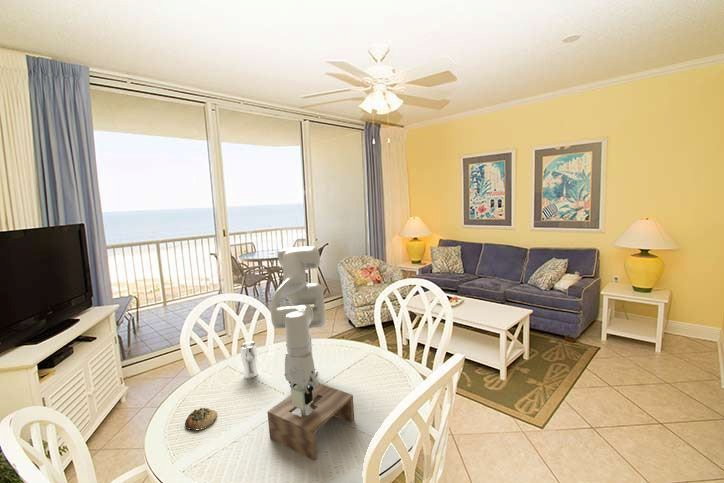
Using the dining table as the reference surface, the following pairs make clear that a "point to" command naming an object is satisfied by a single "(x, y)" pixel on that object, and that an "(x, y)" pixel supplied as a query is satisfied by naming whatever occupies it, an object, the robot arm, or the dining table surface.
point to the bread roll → (200, 418)
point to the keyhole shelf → (308, 419)
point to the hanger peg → (299, 399)
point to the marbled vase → (249, 359)
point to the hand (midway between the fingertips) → (302, 399)
